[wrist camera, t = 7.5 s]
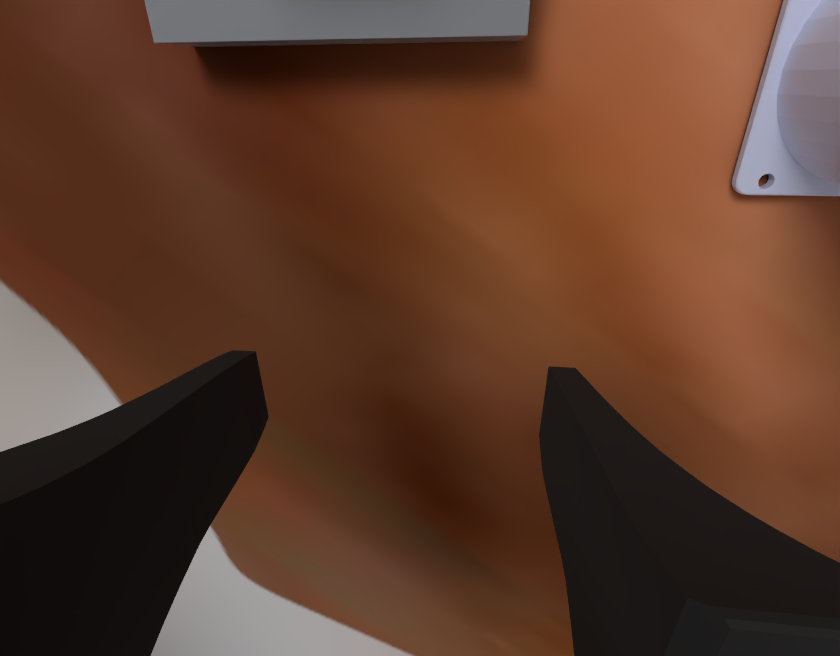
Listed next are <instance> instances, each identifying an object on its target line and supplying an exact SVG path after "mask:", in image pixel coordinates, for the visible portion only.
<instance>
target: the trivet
mask: <svg viewBox="0 0 840 656" xmlns="http://www.w3.org/2000/svg"><path fill="white" fill-rule="evenodd" d="M145 5H146V9H147V13H148V18H149V22H150V26H151V31H152V35H153V39H154V43H162V44H171V45H180V46H189V47H220V46H273V45H326V44H379V43H432V42H485V41H522V40H523V39H524V38H525V37H526V36H527V33H528V21H529V8H530V0H145Z"/></svg>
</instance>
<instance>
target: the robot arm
mask: <svg viewBox="0 0 840 656" xmlns="http://www.w3.org/2000/svg"><path fill="white" fill-rule="evenodd" d="M765 174H768V175H769V179H768V181H767V183H766V184H764V185H763V186H759V185H758V181H759V179H760V178H761V177H762V176H763V175H765ZM732 186H733V189H734V190H735V191H737V192H738V193H741V194H745V195H788V196H840V0H783V4H782V7H781V11H780V14H779V18H778V21H777V25H776V28H775V32H774V35H773V39H772V42H771V46H770V49H769V53H768V56H767V60H766V63H765V67H764V70H763V74H762V77H761V81H760V84H759V88H758V91H757V95H756V98H755V102H754V105H753V108H752V112H751V115H750V119H749V122H748V126H747V129H746V133H745V136H744V140H743V143H742V147H741V150H740V154H739V157H738V161H737V164H736V168H735V171H734V175H733V178H732ZM267 420H268V412H267V406H266V401H265V396H264V391H263V386H262V381H261V376H260V371H259V366H258V361H257V356H256V352H254V351H234V350H233V351H230V352H228V353H225V354H223V355H221V356H218V357H216V358H214V359H212V360H210V361H208V362H206V363H204V364H202V365H200V366H199V367H197V368H195V369H193V370H191V371H189V372H187V373H185V374H183V375H181V376H180V377H178V378H176V379H174V380H172V381H170V382H168V383H166V384H164V385H162V386H160V387H158V388H157V389H155V390H152V391H150V392H148V393H146V394H144V395H142V396H140V397H138V398H136V399H134V400H132V401H130V402H128V403H126V404H124V405H122V406H119V407H118V408H115V409H113V410H111V411H109V412H106V413H104V414H102V415H100V416H97V417H95V418H93V419H91V420H88V421H86V422H83V423H80V424H78V425H75V426H73V427H70V428H68V429H65V430H63V431H60V432H58V433H55V434H52V435H49V436H46V437H43V438H40V439H37V440H34V441H31V442H29V443H26V444H23V445H20V446H17V447H14V448H11V449H8V450H5V451H2V452H0V656H150V655H151V653H152V650H153V648H154V646H155V643H156V641H157V638H158V636H159V633H160V631H161V628H162V626H163V624H164V621H165V619H166V617H167V614H168V612H169V610H170V608H171V605H172V603H173V600H174V598H175V596H176V594H177V591H178V589H179V587H180V585H181V582H182V580H183V578H184V576H185V574H186V572H187V570H188V568H189V565H190V563H191V561H192V559H193V557H194V555H195V553H196V550H197V549H198V546H199V545H200V543H201V541H202V539H203V537H204V535H205V534H206V532H207V530H208V528H209V526H210V525H211V523H212V521H213V520H214V518H215V516H216V515H217V513H218V511H219V510H220V508H221V506H222V505H223V503H224V502H225V500H226V498H227V497H228V495H229V493H230V492H231V490H232V488H233V487H234V485H235V483H236V482H237V480H238V478H239V477H240V475H241V473H242V472H243V470H244V468H245V467H246V465H247V463H248V461H249V460H250V458H251V456H252V454H253V453H254V451H255V449H256V446H257V444H258V442H259V440H260V437H261V435H262V432H263V430H264V427H265V425H266V422H267ZM539 437H540V449H541V460H542V470H543V476H544V481H545V486H546V490H547V495H548V499H549V504H550V508H551V513H552V517H553V522H554V526H555V531H556V535H557V540H558V544H559V548H560V553H561V557H562V562H563V568H564V573H565V579H566V586H567V595H568V603H569V611H570V619H571V628H572V637H573V646H574V655H575V656H840V563H839V562H837V561H835V560H833V559H831V558H829V557H827V556H825V555H823V554H821V553H819V552H817V551H815V550H813V549H811V548H809V547H808V546H806V545H804V544H802V543H800V542H798V541H797V540H795V539H793V538H791V537H789V536H787V535H786V534H784V533H782V532H780V531H778V530H776V529H775V528H773V527H771V526H770V525H768V524H766V523H764V522H763V521H761V520H759V519H758V518H756V517H754V516H753V515H751V514H749V513H748V512H746V511H744V510H743V509H741V508H740V507H738V506H737V505H735V504H734V503H732V502H730V501H729V500H727V499H726V498H724V497H723V496H721V495H719V494H718V493H716V492H715V491H713V490H712V489H710V488H709V487H708V486H706V485H705V484H703V483H702V482H700V481H699V480H697V479H696V478H695V477H693V476H692V475H691V474H689V473H688V472H687V471H685V470H684V469H683V468H681V467H680V466H679V465H677V464H676V463H675V462H673V461H672V460H671V459H669V458H668V457H667V456H666V455H664V454H663V453H662V452H661V451H660V450H658V449H657V448H656V447H655V446H654V445H653V444H651V443H650V442H649V441H648V440H647V439H646V438H645V437H643V436H642V435H641V434H640V433H639V432H638V431H637V430H636V429H634V428H633V427H632V426H631V425H630V424H629V423H628V422H627V421H626V420H625V419H624V418H623V417H622V416H621V415H620V414H619V413H618V412H617V411H616V410H615V409H614V408H613V407H612V406H611V405H610V404H609V403H608V402H607V401H606V400H605V399H604V398H603V397H602V396H601V395H600V394H599V393H598V392H597V391H596V390H595V389H594V387H593V386H592V385H591V384H590V383H589V382H588V381H587V380H586V379H585V378H584V377H583V375H582V374H581V373H580V372H579V371H578V370H577V369H576V368H566V367H549V368H548V375H547V382H546V390H545V397H544V404H543V411H542V419H541V426H540V433H539Z"/></svg>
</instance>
